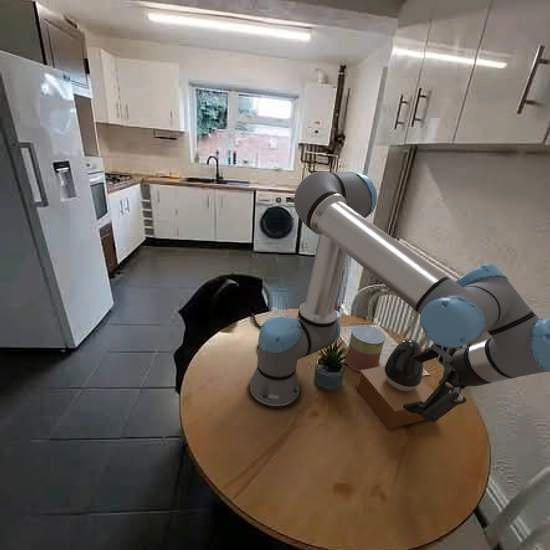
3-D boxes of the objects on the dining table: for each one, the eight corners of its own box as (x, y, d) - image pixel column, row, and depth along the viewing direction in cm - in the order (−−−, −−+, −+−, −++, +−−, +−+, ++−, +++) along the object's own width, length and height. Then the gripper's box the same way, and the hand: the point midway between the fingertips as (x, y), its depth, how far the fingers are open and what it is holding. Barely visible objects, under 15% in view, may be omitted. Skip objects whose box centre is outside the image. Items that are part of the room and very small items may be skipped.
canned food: (380, 375, 105) (387, 346, 101) (346, 369, 106) (352, 340, 102) (375, 355, 116) (382, 327, 111) (345, 350, 117) (350, 323, 112)
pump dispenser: (374, 378, 93) (384, 335, 87) (397, 368, 98) (409, 327, 92) (401, 401, 85) (415, 356, 79) (425, 390, 90) (440, 346, 84)
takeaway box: (356, 387, 99) (360, 370, 96) (398, 379, 104) (403, 362, 101) (389, 430, 84) (395, 411, 82) (436, 417, 90) (443, 399, 87)
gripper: (498, 437, 53) (417, 440, 71) (500, 320, 67) (432, 347, 85) (460, 416, 53) (389, 424, 71) (470, 303, 67) (408, 334, 85)
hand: (412, 382), depth 78 cm, fingers open, 13 cm apart
